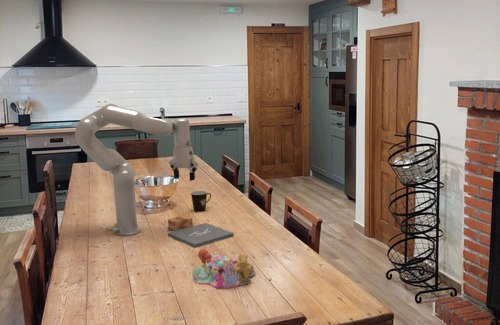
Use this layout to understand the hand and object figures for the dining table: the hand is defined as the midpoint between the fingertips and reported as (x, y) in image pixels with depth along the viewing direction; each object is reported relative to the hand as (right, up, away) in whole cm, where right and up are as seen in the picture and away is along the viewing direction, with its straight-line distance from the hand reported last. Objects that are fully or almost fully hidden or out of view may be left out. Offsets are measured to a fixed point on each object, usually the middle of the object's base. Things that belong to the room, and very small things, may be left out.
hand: (184, 179), depth 254 cm
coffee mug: (+6, -18, +35) cm, 40 cm away
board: (+9, -26, -8) cm, 29 cm away
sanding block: (-3, -24, +5) cm, 25 cm away
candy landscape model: (+21, -36, -54) cm, 68 cm away
